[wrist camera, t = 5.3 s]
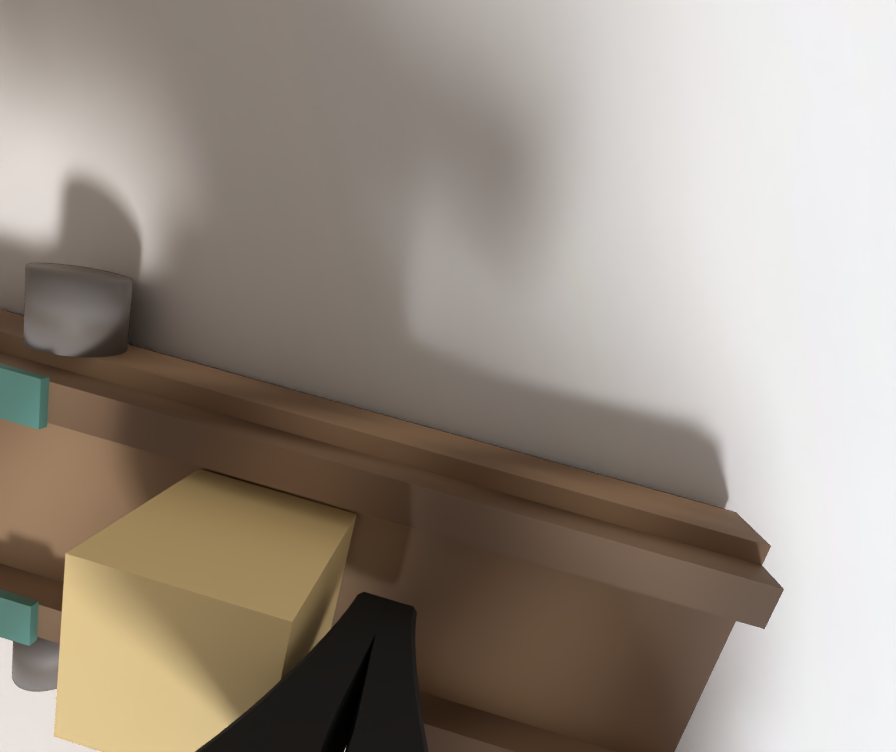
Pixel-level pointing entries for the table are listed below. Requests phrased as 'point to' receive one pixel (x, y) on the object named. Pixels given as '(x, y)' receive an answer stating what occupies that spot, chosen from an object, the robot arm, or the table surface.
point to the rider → (193, 612)
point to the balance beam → (377, 531)
